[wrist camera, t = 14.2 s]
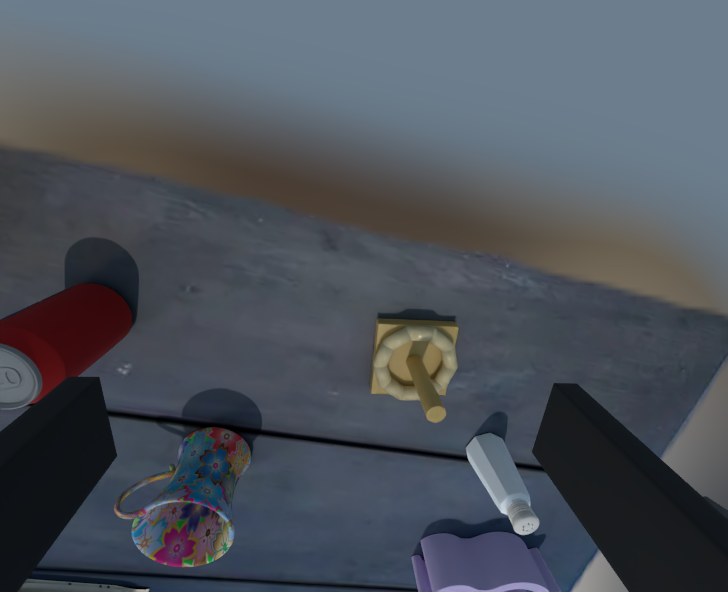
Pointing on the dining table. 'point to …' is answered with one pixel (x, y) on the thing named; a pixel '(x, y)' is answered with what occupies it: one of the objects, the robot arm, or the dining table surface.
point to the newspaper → (71, 587)
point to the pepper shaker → (502, 481)
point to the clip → (481, 565)
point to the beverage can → (58, 340)
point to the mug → (192, 501)
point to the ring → (401, 339)
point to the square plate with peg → (415, 362)
